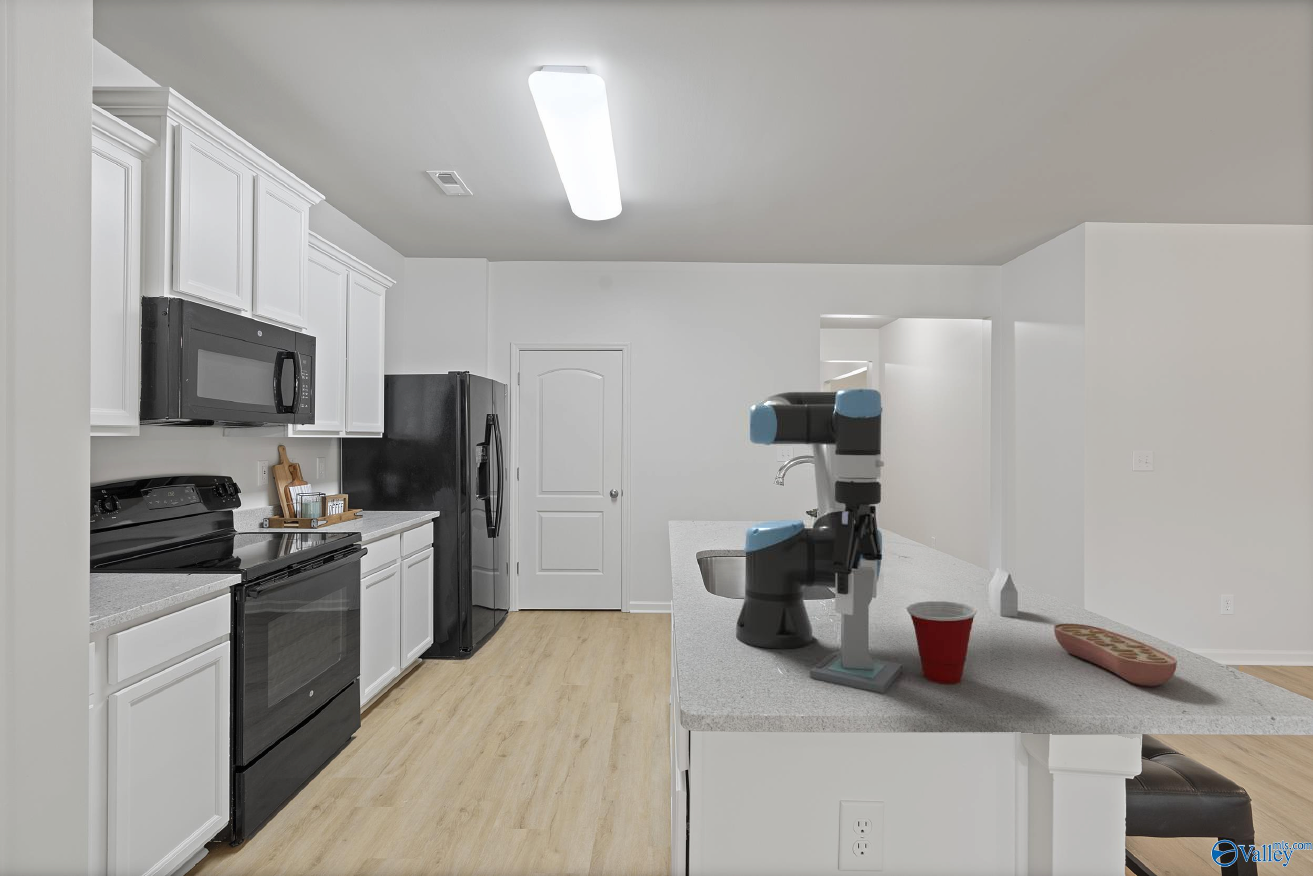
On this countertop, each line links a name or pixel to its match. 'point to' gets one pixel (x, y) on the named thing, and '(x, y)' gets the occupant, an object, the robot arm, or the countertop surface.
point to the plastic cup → (942, 638)
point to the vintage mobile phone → (858, 621)
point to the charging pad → (857, 673)
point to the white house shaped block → (1003, 594)
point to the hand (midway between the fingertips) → (856, 604)
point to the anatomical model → (1117, 653)
